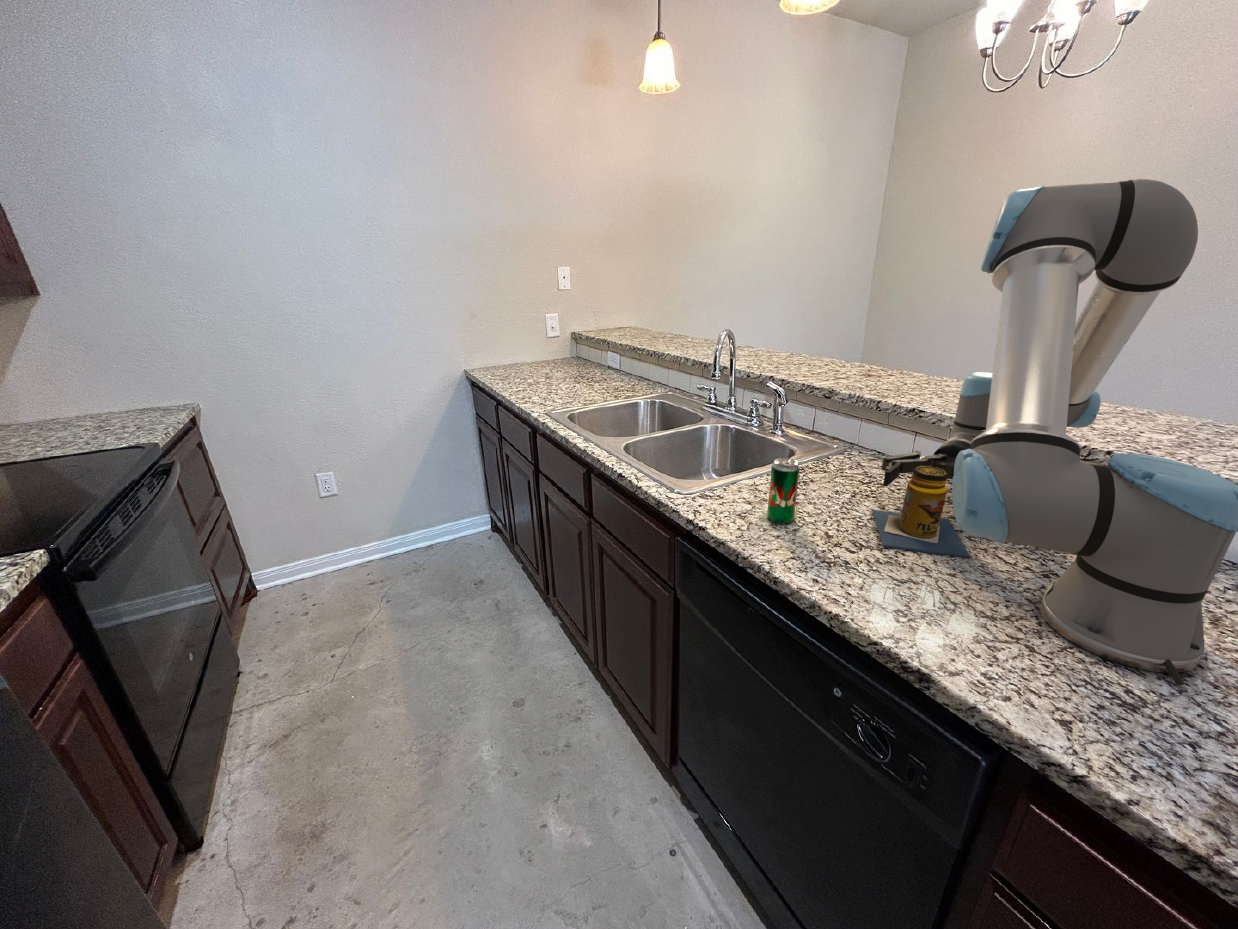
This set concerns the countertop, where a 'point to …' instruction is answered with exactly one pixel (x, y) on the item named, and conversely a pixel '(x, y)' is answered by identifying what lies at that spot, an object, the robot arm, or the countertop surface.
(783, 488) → the soda can
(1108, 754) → the countertop surface
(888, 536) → the blue mat
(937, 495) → the condiment
